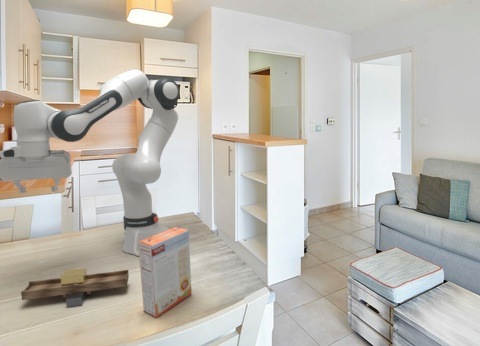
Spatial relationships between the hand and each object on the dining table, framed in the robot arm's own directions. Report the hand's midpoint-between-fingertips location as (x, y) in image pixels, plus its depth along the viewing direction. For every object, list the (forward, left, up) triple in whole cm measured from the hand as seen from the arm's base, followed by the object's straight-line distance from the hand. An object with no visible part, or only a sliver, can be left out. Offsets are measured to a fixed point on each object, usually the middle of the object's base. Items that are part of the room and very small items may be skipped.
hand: (38, 192), depth 101 cm
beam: (-14, +18, -27) cm, 35 cm away
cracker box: (-40, +29, -29) cm, 58 cm away
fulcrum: (-14, +18, -29) cm, 37 cm away
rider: (-13, +18, -25) cm, 34 cm away
